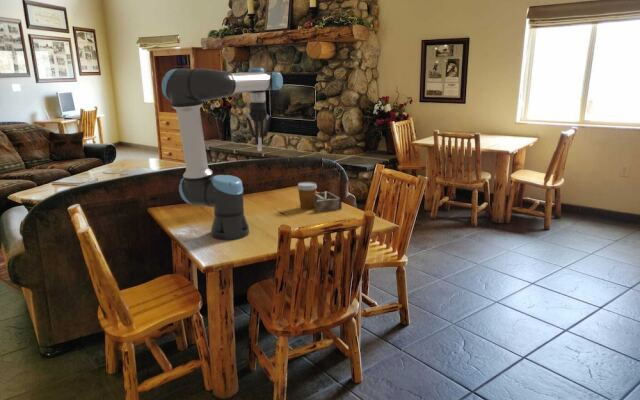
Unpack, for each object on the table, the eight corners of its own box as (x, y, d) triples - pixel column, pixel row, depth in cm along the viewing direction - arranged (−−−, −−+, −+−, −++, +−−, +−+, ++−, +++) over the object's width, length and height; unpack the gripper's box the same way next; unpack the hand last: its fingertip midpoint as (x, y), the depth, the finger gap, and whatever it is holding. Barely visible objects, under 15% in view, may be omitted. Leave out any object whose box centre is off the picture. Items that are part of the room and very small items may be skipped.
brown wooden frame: (317, 211, 212) (317, 201, 211) (305, 203, 226) (305, 193, 224) (341, 209, 217) (341, 198, 215) (328, 201, 230) (328, 191, 229)
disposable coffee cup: (320, 207, 220) (320, 183, 216) (310, 212, 212) (309, 187, 209) (304, 204, 225) (304, 180, 221) (293, 209, 217) (293, 184, 214)
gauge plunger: (322, 210, 215) (322, 191, 213) (314, 204, 225) (314, 186, 222) (334, 208, 217) (334, 190, 215) (325, 203, 227) (325, 185, 224)
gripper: (246, 102, 209) (248, 153, 215) (273, 101, 213) (274, 151, 220) (242, 101, 215) (244, 150, 222) (268, 101, 220) (270, 149, 226)
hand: (259, 150), depth 221 cm, fingers closed
